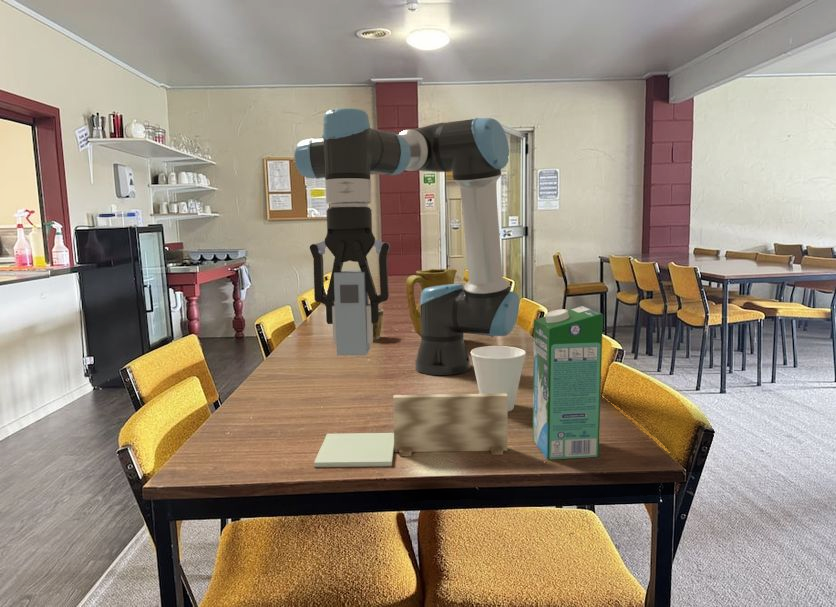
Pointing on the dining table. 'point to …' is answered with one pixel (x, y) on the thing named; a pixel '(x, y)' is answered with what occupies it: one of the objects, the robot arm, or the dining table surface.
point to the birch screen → (450, 423)
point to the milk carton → (567, 383)
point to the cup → (498, 370)
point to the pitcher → (426, 280)
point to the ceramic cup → (377, 326)
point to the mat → (356, 450)
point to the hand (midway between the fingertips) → (353, 341)
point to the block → (351, 312)
